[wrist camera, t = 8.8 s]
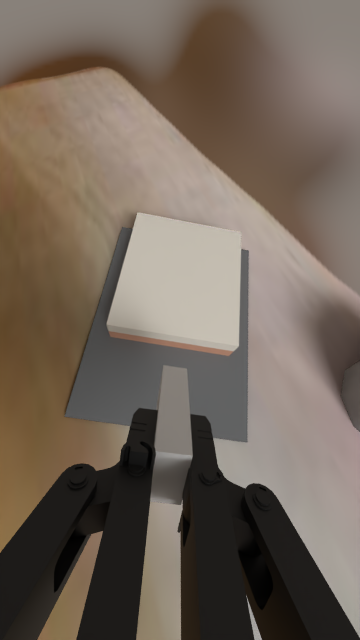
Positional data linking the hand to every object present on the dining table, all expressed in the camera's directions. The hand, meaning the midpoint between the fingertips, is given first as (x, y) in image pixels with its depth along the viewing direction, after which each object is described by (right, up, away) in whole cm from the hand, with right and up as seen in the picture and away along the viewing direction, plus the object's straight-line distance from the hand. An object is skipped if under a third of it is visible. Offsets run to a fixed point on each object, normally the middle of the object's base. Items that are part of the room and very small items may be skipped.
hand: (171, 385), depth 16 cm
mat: (0, +4, +11) cm, 12 cm away
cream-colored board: (0, +2, +8) cm, 8 cm away
